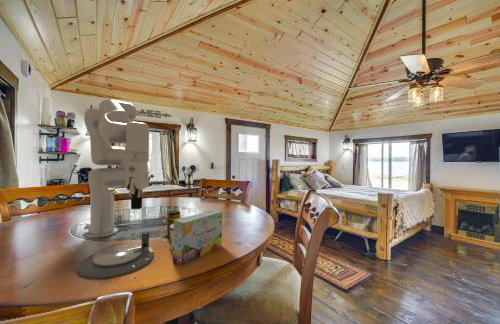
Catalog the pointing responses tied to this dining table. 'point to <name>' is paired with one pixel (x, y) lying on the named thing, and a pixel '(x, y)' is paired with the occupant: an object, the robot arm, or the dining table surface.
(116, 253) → the dial
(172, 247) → the teacup with lid
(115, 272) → the dial plate
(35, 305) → the dining table surface
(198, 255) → the snack box
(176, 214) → the condiment
